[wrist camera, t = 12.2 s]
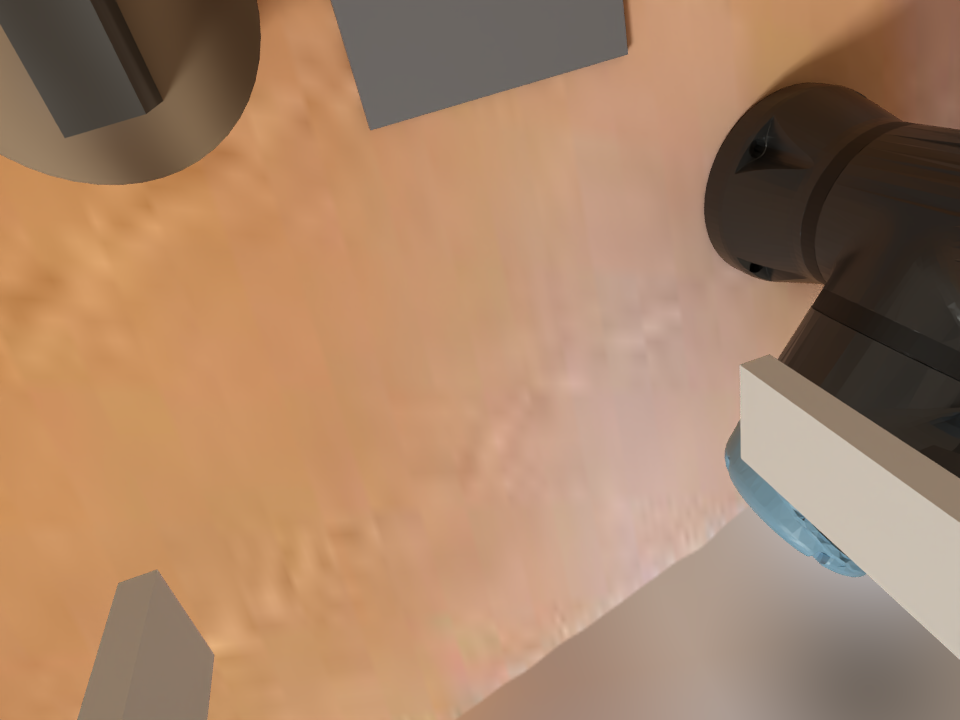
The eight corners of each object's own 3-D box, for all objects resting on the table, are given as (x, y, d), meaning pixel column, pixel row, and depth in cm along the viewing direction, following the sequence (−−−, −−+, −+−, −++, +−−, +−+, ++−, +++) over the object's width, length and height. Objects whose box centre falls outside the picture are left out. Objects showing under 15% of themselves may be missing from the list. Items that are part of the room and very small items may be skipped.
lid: (169, -243, 24) (144, -318, 19) (307, 128, 32) (316, 149, 26) (-227, -155, 22) (-376, -211, 17) (15, 219, 30) (-38, 260, 24)
